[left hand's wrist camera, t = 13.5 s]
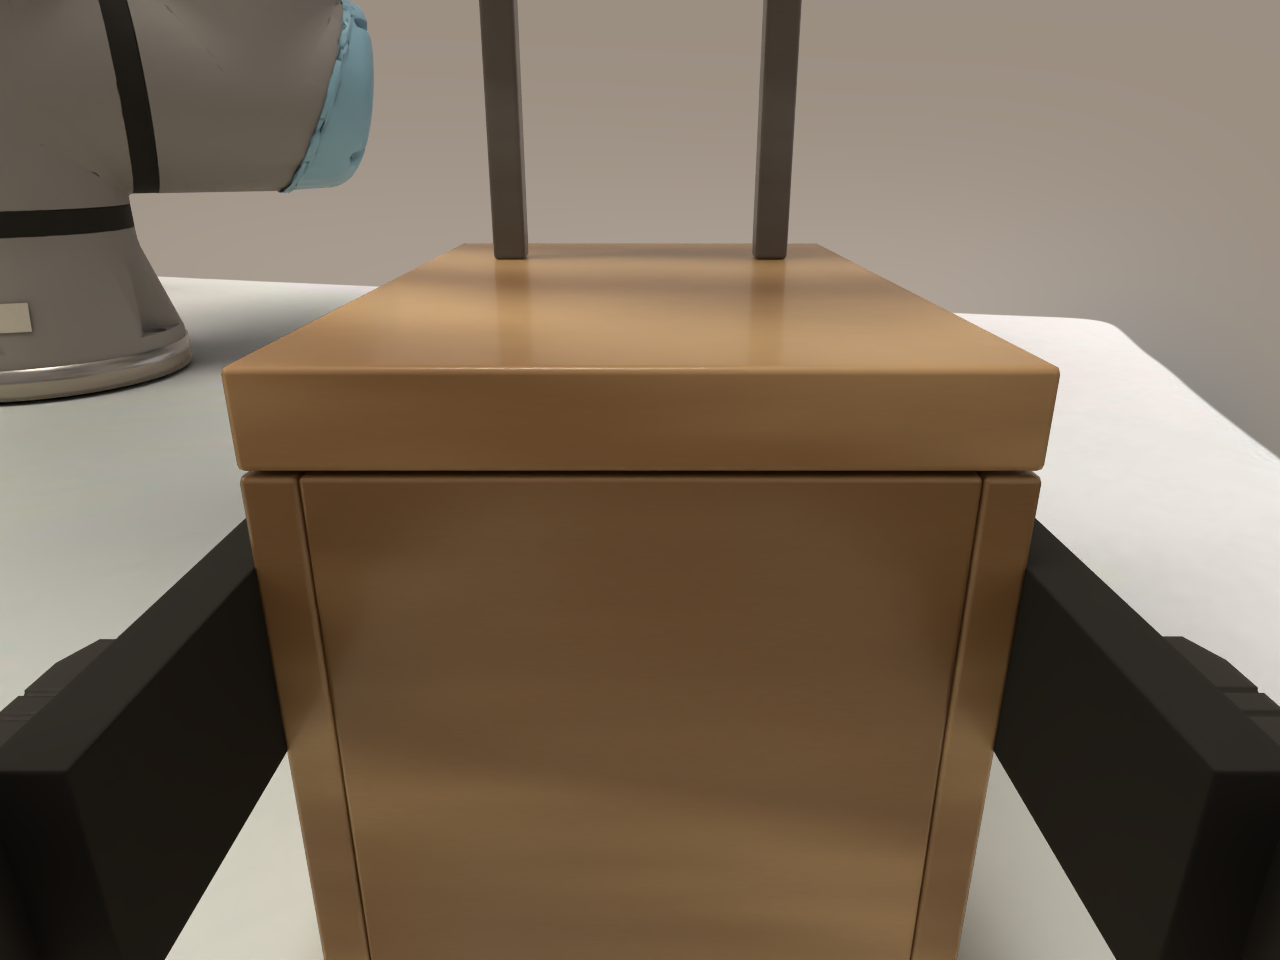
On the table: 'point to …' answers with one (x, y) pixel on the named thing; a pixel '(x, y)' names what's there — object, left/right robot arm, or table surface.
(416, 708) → the chest
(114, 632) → the table surface
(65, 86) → the right robot arm
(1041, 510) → the table surface
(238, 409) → the lid
